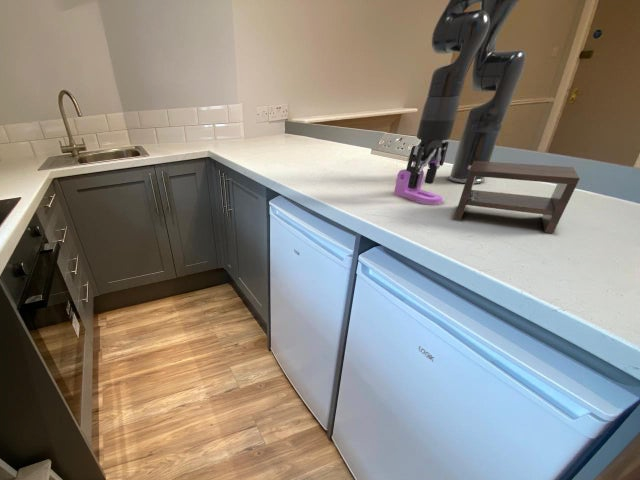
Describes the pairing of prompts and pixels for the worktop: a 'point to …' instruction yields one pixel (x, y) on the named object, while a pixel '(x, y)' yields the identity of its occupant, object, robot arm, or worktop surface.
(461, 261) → the worktop surface
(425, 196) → the bracket
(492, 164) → the shelf
